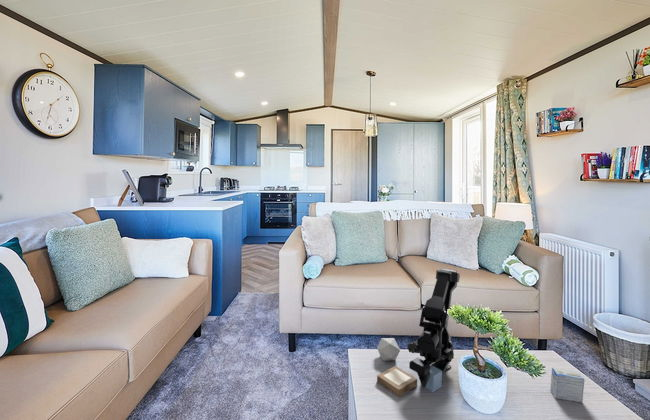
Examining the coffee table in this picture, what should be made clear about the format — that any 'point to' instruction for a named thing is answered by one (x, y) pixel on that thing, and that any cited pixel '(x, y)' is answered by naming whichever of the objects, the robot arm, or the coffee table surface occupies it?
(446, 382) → the coffee table surface
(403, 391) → the picture frame
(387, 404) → the coffee table surface
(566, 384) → the medicine box
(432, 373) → the block
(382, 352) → the die
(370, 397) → the coffee table surface
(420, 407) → the coffee table surface
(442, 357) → the robot arm
